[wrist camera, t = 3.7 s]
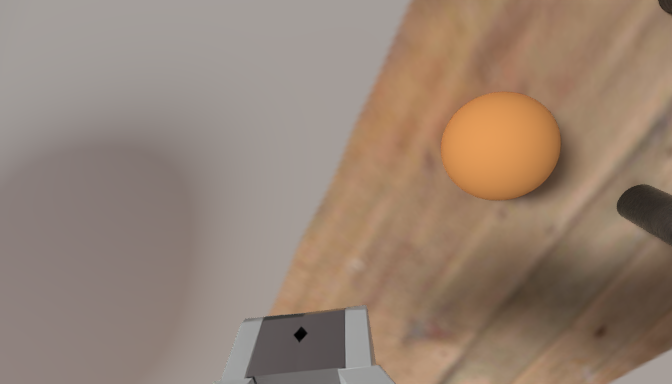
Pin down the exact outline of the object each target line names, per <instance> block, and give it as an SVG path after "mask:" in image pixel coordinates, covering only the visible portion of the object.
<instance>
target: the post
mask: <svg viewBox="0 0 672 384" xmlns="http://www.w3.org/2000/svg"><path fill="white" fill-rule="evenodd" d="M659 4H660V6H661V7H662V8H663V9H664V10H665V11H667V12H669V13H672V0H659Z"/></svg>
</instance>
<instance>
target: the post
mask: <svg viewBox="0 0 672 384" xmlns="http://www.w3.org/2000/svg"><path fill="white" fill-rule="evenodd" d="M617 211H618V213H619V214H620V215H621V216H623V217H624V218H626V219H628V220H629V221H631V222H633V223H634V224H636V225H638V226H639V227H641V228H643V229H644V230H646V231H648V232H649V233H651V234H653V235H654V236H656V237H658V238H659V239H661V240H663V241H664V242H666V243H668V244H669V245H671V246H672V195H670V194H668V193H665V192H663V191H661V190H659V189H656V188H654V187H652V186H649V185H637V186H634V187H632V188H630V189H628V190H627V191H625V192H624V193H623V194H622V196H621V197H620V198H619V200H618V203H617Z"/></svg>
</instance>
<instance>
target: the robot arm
mask: <svg viewBox="0 0 672 384" xmlns="http://www.w3.org/2000/svg"><path fill="white" fill-rule="evenodd" d="M212 384H395V382H394V381H393V380H392V379H391V378H390V377H389V375H388V374H387V373H386V372H385V371H384V370H383V369H382V367H381V366H380V365H376V360H375V354H374V347H373V340H372V334H371V327H370V321H369V315H368V309H367V306H366V305H362V306H354V307H346V308H340V309H332V310H324V311H316V312H308V313H299V314H288V315H277V316H266V317H260V318H248V319H245V320H244V321H243V322H242V324H241V325H240V328H239V331H238V334H237V336H236V339H235V342H234V345H233V348H232V351H231V353H230V356H229V359H228V361H227V364H226V367H225V370H224V373H223V375H222V378H221V381H215V382H213V383H212Z"/></svg>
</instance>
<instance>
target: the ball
mask: <svg viewBox="0 0 672 384" xmlns="http://www.w3.org/2000/svg"><path fill="white" fill-rule="evenodd" d="M560 150H561V136H560V131H559V127H558V125H557V122H556V120H555V119H554V117H553V116H552V114H551V113H550V111H549V110H548V109H547V108H546V107H545V106H543V105H542V104H541V103H539V102H538V101H537V100H535V99H533V98H531V97H529V96H526V95H523V94H520V93H514V92H495V93H490V94H485V95H483V96H480V97H477V98H475V99H473V100H471V101H470V102H468V103H467V104H465V105H464V106H463V107H462V108H460V109H459V110H458V111H457V112H456V113H455V114H454V116H453V117H452V118H451V119H450V121H449V123H448V124H447V126H446V129H445V131H444V134H443V137H442V143H441V156H442V161H443V165H444V167H445V170H446V172H447V173H448V175H449V177H450V178H451V179H452V181H453V182H454V183H455V184H456V185H457V186H458V187H460V188H461V189H462V190H464V191H465V192H467V193H469V194H471V195H473V196H475V197H478V198H482V199H487V200H509V199H514V198H517V197H520V196H522V195H525V194H527V193H529V192H531V191H533V190H534V189H536V188H537V187H538V186H540V185H541V184H542V183H543V182H544V181H545V180H546V179H547V178H548V177H549V175H550V174H551V173H552V171H553V170H554V168H555V166H556V164H557V161H558V158H559V155H560Z"/></svg>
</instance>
